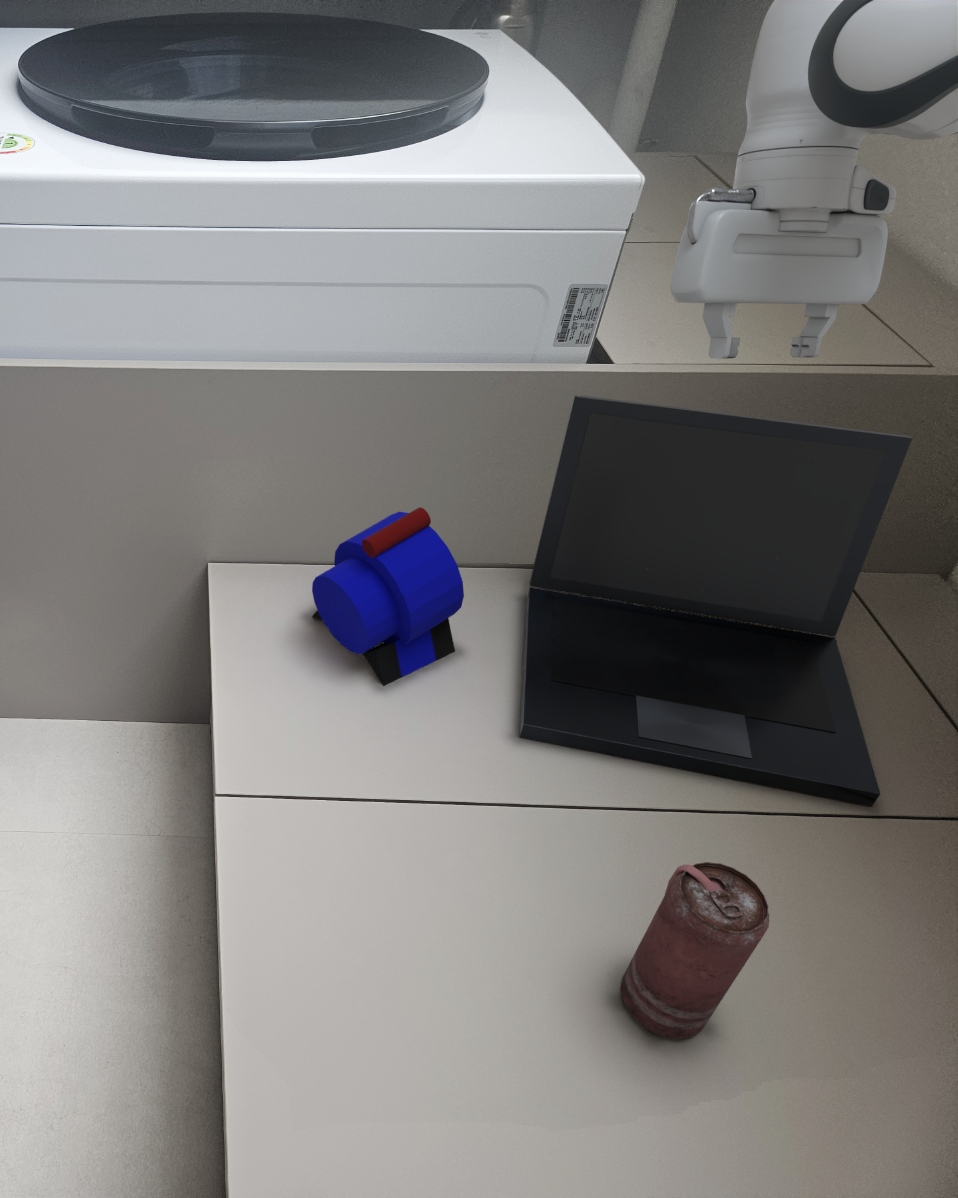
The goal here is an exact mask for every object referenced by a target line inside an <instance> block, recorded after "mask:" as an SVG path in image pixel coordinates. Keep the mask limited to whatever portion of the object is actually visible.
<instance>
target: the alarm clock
mask: <svg viewBox="0 0 958 1198" xmlns="http://www.w3.org/2000/svg"><path fill="white" fill-rule="evenodd" d="M431 522H432V520H431V516H430V514H429V513H428V511H427V510H426V509H425V508H424V507H416V509H413V510H412V511H411V512H405V511H397V512H394V513H392V514H390V515H388V516H386V517H385V518H383V519H381V520H379V521H378V522H376V523H374V524H372V525H371V526H369V527H367V528H365V529H363V530H362V531H360V532H359V533H356V534H355V535H353V536H351V537H349V538H348V539H346V540H345V541H343V542H341V543H339V545H338V546H337V548H336V550H335V551H334V561H333V562H334V563H333V565H334V566H332V567H330V568H329V569H327V570H326V571H323V573H321V574H319V575H317V576H315V578H314V579H313V581H312V585H311V592H312V597H313V602H314V604H315V607H316V611H315V612H314V613H313V614H312V616H311V618H313V619H317V620H319V621H322V622H323V624H324V626H325V627H326V628H327V630H328V631H329V632H330V634H331V635H332V637H333V638H335V640H336V641H337V642H338V643H339V644H340V645H341V646H342V647H344V649H346V650H347V651H349V652H351V653H353V654H356V655H362V656H363V657H364V659H365V660H366V662H367V663H368V665H369V666H370V668H371V669H372V671H373V673H374V674H375V675H376V677H377V678H378V680H379V681H380V683H381V685H382V686H383V687H385V686H386V685H389V684H391V683H393V682H395V681H397V680H399V679H401V678H403V677H405V676H408V675H409V674H412V673H413V672H416V671H418V670H420V669H422V668H424V667H425V666H428V665H430V664H432V663H434V662H436V661H438V660H440V659H442V658H445V657H446V656H447V657H448V655H451V654H453V653H454V652H456V650H455V649H456V647H455V644H454V639H453V633H452V629H451V624H450V620H449V618H451V617H452V616H454V615H455V614H456V613H458V611H459V610H460V609H462V606H463V602H464V598H465V592H464V591H465V590H464V581H463V578H462V574H461V573H460V569H459V565H458V563H457V561H456V560H455V558H454V556H453V554H452V552H451V550H450V549H449V547H448V546H447V544H446V543H445V541H444V540H443V539H442V537H440V535H439V533H438V532H437V531H436V530H435V529H433V528H432V527H431Z"/></svg>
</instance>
